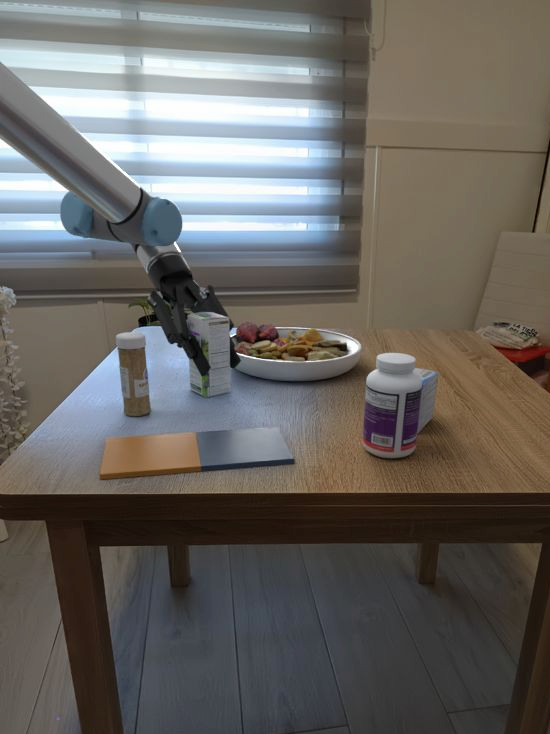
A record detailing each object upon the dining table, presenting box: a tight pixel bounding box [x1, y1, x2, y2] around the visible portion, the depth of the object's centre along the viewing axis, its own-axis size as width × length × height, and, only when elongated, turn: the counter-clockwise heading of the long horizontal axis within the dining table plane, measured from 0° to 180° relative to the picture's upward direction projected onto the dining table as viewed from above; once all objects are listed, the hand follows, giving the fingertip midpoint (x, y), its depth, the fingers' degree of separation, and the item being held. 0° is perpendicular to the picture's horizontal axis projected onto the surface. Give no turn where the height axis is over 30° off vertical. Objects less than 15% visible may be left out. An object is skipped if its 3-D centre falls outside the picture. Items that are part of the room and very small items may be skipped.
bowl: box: [230, 321, 362, 382], centre depth 125 cm, size 30×30×8 cm
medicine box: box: [413, 367, 439, 435], centre depth 95 cm, size 8×4×9 cm, turn 152°
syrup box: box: [186, 312, 231, 398], centre depth 106 cm, size 6×6×14 cm
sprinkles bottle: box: [115, 331, 152, 417], centre depth 95 cm, size 5×5×13 cm
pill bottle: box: [362, 352, 422, 459], centre depth 84 cm, size 8×8×14 cm
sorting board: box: [99, 426, 295, 481], centre depth 83 cm, size 26×12×1 cm, turn 105°
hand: (221, 368), depth 104 cm, fingers closed on syrup box, 6 cm apart
